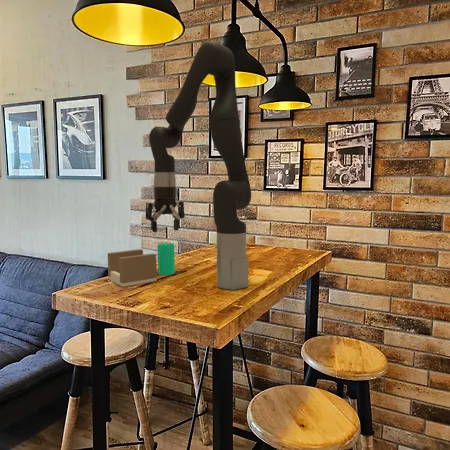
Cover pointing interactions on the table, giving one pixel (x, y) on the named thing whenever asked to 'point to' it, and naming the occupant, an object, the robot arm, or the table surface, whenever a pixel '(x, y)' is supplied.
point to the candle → (166, 259)
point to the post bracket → (131, 267)
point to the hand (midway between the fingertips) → (165, 231)
